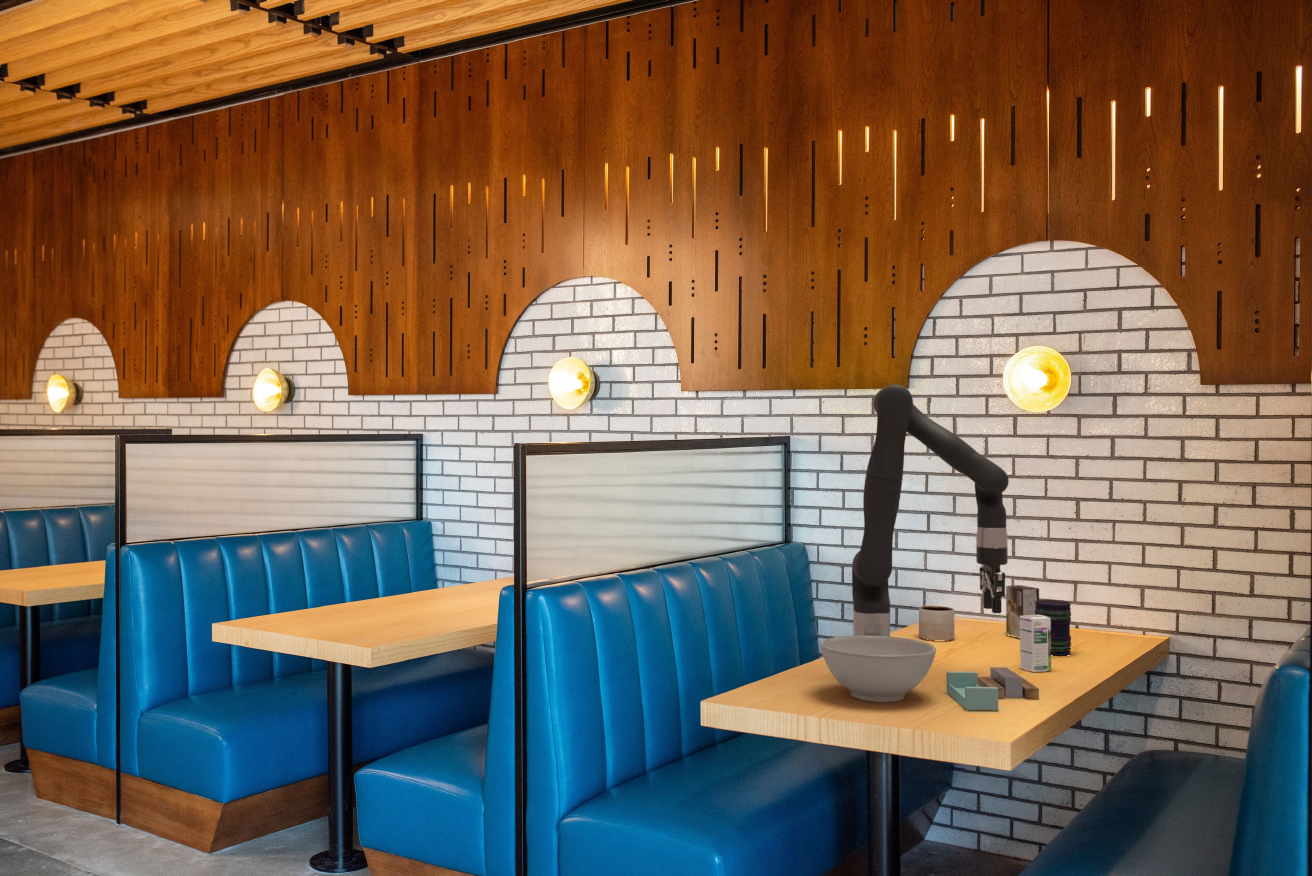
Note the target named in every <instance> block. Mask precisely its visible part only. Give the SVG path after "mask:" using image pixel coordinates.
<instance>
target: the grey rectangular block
mask: <svg viewBox="0 0 1312 876" xmlns="http://www.w3.org/2000/svg"><path fill="white" fill-rule="evenodd" d="M989 668H990V670H989V671H990V672H989V673H990V674H989V675H990V678H991V679H993V680H994V681H995V682H997V683H998V684H999V685H1001V686H1002V687H1004V688H1005V699H1023V698H1024V697H1023V678H1024V677H1022V676H1020V675H1019V674H1017V673H1016V672H1014V671H1013V670H1011V669H1010V668H1008V667H1001V666H1000V667H997V666H996V667H995V666H994V667H993V666H992V667H991V666H990V667H989Z"/></svg>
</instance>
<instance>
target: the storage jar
mask: <svg viewBox="0 0 1312 876" xmlns="http://www.w3.org/2000/svg"><path fill="white" fill-rule="evenodd" d="M1035 604H1036V606H1035V609H1036V610H1035V614H1036V615H1044V616H1047V617H1050V618H1051V655H1053V656H1067V655H1070V654H1071V647H1072V636H1071V635H1070V634H1071V632H1070V631H1071V623H1072V612H1071V611H1072V608H1071V605H1072V604H1071V601H1065V600H1056V599H1039V600H1037V601H1035ZM1071 655H1072V654H1071Z"/></svg>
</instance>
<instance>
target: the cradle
mask: <svg viewBox="0 0 1312 876" xmlns="http://www.w3.org/2000/svg"><path fill="white" fill-rule="evenodd" d="M978 675H979V674H978V672H977V671H946V694H948V695H949V696H950V697H951V696H952V697H953V698H954V699H955V700H954V699H953V700H954V701H955V702H956V703H957V704H959V705H960V706H961V707H962V708H963V707H964V708H965V710H966V711H967V710H993V711H992V712H999V699H998V688H997V687H980V686H978V677H979V676H978ZM952 697H951V698H952ZM964 708H963V709H964ZM995 710H996V711H995Z"/></svg>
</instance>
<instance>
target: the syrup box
mask: <svg viewBox="0 0 1312 876" xmlns="http://www.w3.org/2000/svg"><path fill="white" fill-rule="evenodd" d="M1019 657H1020V658H1019V659H1020V660H1019V661H1020V669H1021V668H1022V670H1023V669H1025V670H1024V671H1026V670H1028V671H1027V672H1029V671H1031V672H1030V673H1033V672H1035V673H1042V672H1043V673H1045V672H1047V671H1051V672H1052V657H1051V618H1050V617H1047V616H1044V615H1027V616H1020V639H1019ZM1047 673H1048V672H1047Z"/></svg>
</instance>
